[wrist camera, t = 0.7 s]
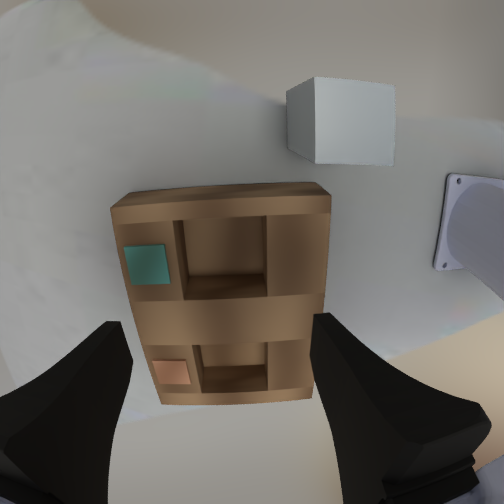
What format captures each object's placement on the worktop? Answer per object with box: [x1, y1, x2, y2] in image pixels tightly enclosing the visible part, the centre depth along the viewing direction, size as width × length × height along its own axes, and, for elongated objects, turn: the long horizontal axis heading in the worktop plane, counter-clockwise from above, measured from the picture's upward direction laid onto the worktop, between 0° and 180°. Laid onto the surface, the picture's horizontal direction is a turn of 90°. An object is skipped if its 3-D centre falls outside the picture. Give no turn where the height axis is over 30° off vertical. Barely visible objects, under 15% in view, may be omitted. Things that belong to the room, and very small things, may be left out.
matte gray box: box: [286, 77, 395, 166], centre depth 15 cm, size 4×4×7 cm
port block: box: [110, 182, 331, 405], centre depth 21 cm, size 12×16×4 cm
